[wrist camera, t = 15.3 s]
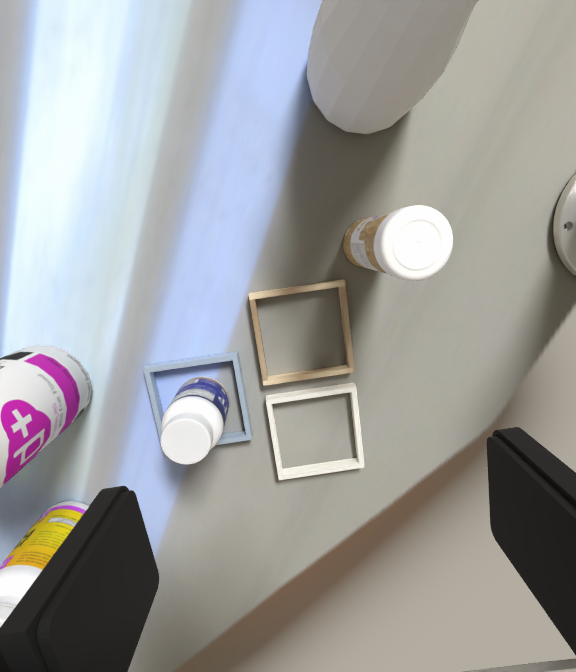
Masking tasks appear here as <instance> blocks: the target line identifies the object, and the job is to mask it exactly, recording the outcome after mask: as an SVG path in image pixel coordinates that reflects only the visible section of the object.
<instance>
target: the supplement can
mask: <svg viewBox="0 0 576 672" xmlns="http://www.w3.org/2000/svg"><path fill="white" fill-rule="evenodd" d="M91 389H92V388H91V383H90V379H89V375H88V373H87V371H86V370H85V368H84V367H83V365H82V364H81V362H80V361H79V360H78V359H76V358H75V357H74V356H73V355H71V354H70V353H69V352H67V351H65V350H62V349H60V348H57V347H55V346H50V345H34V346H31V347H27V348H24V349H21V350H19V351H16V352H14V353H12V354H9V355H7V356H5V357H2V358H0V488H1V487H2V486H3V485H4V484H5V483H6V482H7V481H9V480H10V479H11V478H12V477H13V476H14V475H15V474H16V473H17V472H18V471H20V470H21V469H22V468H23V467H24V466H25V465H26V464H27V463H28V462H29V461H31V460H32V459H33V458H34V457H35V456H36V455H37V454H38V453H39V452H40V451H42V450H43V449H44V448H45V447H46V446H47V445H48V444H49V443H50V442H51V441H53V440H54V439H55V438H56V437H57V436H58V435H59V434H60V433H61V432H62V431H64V430H65V429H66V428H67V427H68V426H69V425H70V424H71V423H72V422H73V421H75V420H76V419H77V418H78V417H79V416H80V415H81V414H82V413H83V412H84V410H85V409H86V407H87V405H88V403H89V402H90V396H91Z"/></svg>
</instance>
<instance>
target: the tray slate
mask: <svg viewBox="0 0 576 672" xmlns="http://www.w3.org/2000/svg"><path fill="white" fill-rule="evenodd" d="M231 360H233V365H234V370H235V376H236V381H237V387H238V392H239V398H240V404H241V409H242V415H243V420H244V426H245V431H240V432H233V433H226V434H222V435H221V438H220V439H219V441H218V443H217V444H216V445H220V444H227V443H233V442H240V441H247V440H252V435H253V434H252V428H251V422H250V417H249V411H248V405H247V400H246V394H245V388H244V383H243V377H242V371H241V365H240V360H239V354H238V351H236V352H229V353H222V354H215V355H209V356H202V357H195V358H188V359H181V360H174V361H168V362H161V363H154V364H147V365H146V366H145V367H144V368H143V370H144V374H145V379H146V383H147V387H148V391H149V395H150V400H151V404H152V408H153V412H154V417H155V421H156V425H157V429H158V433H159V438H160V442H161V435H162V420H163V416H164V414H163V409H162V405H161V401H160V396H159V392H158V388H157V383H156V379H155V375H154V372H156V371H163V370H170V369H177V368H184V367H190V366H197V365H204V364H211V363H218V362H225V361H231ZM163 453H164V452H163Z"/></svg>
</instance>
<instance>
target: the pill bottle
mask: <svg viewBox="0 0 576 672" xmlns="http://www.w3.org/2000/svg"><path fill="white" fill-rule="evenodd" d="M228 408H229V396H228V393H227V391H226V389H225V387H224V386H223V385H222V384H221V383H220V382H218V381H217V380H215V379H213V378H210V377H203V376H201V377H195V378H192V379H190V380H188V381H187V382H185V383H184V384H183V385H182V386H181V388H180V389H179V391H178V393H177V394H176V396H175V398H174V399H173V401H172V402H171V404H170V405H169V407H168V408H167V410H166V412H165V414H164V416H163V420H162V435H161V447H162V450H163V452H164V453H165V455H166V456H167V457H168V458H169V459H171V460H172V461H174V462H176V463H180V464H194V463H196V462H199V461H201V460H202V459H203V458H204V457H205V456H206V455H207V454H208V452H209V450H210V449H212V448H213V447H214V446H215V445H216V444H217V443H218V441H219V439H220V438H221V435H222V432H223V429H224V424H225V420H226V416H227V412H228Z"/></svg>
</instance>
